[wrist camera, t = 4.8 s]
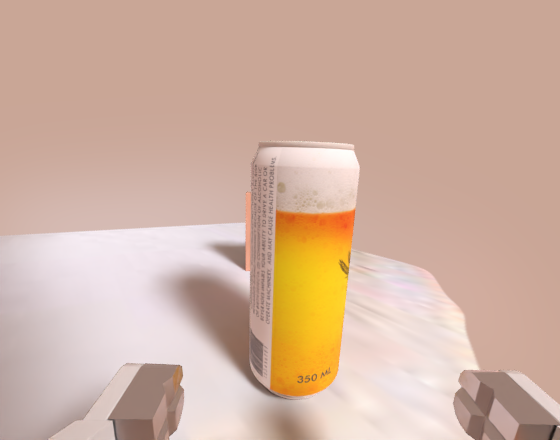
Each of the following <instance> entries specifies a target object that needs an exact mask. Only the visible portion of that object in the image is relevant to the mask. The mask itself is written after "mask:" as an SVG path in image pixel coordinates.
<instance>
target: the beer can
mask: <svg viewBox="0 0 560 440" xmlns="http://www.w3.org/2000/svg"><path fill="white" fill-rule="evenodd" d="M359 171H360V167H359V164H358V161H357V158H356V156H355V153H354V145H350V144H342V143H328V142H305V141H302V142H301V141H265V142H259V148H258V150H257V152H256V154H255V156H254V158H253V161H252V163H251V239H250V352H249V360H250V367H251V370H252V372H253V374H254V376H255V377H256V378H257V379H258V381H259V382H260V383H262V384H263V385H264V386H265V387H266V388H267V389H268V390H269V391H271V392H272V393H274V394H276V395H278V396H280V397H283V398H287V399H295V400H298V399H306V398H309V397H312V396H314V395H316V394H318V393H319V392H321V391H322V390H324V389H326V388H327V387H328V386H329V385H330V384H331V383H332V382H333V381H334V379H335V377H336V375H337V372H338V366H339V356H340V347H341V338H342V328H343V319H344V310H345V301H346V291H347V282H348V273H349V263H350V254H351V244H352V236H353V226H354V216H355V208H356V198H357V189H358V180H359Z"/></svg>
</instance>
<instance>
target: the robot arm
mask: <svg viewBox="0 0 560 440" xmlns="http://www.w3.org/2000/svg"><path fill="white" fill-rule="evenodd" d="M182 377H183V372H182V366H180V365H167V364H135V363H126V364H125V365H123V366H122V367H121V368H120V369H119V371H118V372H117V374H116V375H115V376H114V378H113V379H112V380H111V382H110V383H109V384H108V386H107V387H106V389H105V390H104V391H103V393H102V394H101V395H100V397H99V398H98V399H97V401H96V402H95V404H94V405H93V406H92V408H91V409H90V410H89V412H88V413H87V414H86V416H85V417H84V419H83V420H75V421H74V422H72V423H71V424H70V425H68V426H67V427H65V428H64V429H62V430H61V431H59V432H58V433H56V434H55V435H53V436H52V437H50V438H49V439H47V440H169V437H170V436H171V435H172V434H173V433H174V432H175V431H176V430H177V427H178V424H179V421H180V419H181V414H182V409H183V404H184V389H183V388H182V387H181V386H180V382H181V380H182ZM458 381H459V383H460V385H461V387H462V388H461V389H459V390H458V391H457V392H456V393H455V397H454V402H453V404H454V409H455V414H456V416H457V419H458V421H459V423H460V425H461V426H462V428H463V429H464V431H465V432H466V433H467V434H468V435H469V436H471V437H472V438H473V439H474V440H560V405H559V404H558V403H557V402H556V401H554V400H553V399H552V398H551V397H550V396H549V395H547V394H546V393H545V392H544V391H543V390H542V389H540V388H539V387H538V386H537V385H536V384H535V383H534V382H533V381H531V380H530V379H529V378H528V377H527V376H526V375H524V374H523V373H521V372H519V371H516V370H511V371H510V370H499V371H496V370H464V371H463V372H462V373H461V374H460V377H459V380H458Z"/></svg>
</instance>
